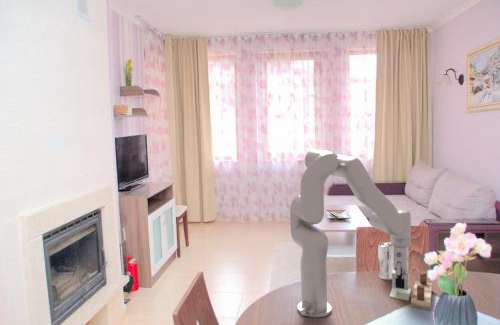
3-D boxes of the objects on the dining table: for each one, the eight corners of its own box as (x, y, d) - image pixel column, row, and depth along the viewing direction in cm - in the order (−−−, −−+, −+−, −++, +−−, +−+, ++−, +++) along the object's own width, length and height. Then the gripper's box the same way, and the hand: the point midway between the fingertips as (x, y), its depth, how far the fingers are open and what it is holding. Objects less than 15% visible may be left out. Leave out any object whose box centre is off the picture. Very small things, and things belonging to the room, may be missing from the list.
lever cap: (408, 290, 152) (408, 273, 151) (392, 287, 155) (392, 271, 154) (409, 285, 156) (409, 269, 155) (393, 283, 159) (393, 267, 158)
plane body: (429, 310, 142) (430, 289, 141) (411, 306, 145) (411, 286, 144) (432, 290, 158) (432, 271, 157) (414, 287, 161) (415, 269, 160)
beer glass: (378, 279, 170) (378, 246, 169) (377, 273, 177) (377, 241, 175) (395, 281, 168) (395, 247, 167) (394, 274, 175) (394, 242, 173)
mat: (408, 300, 150) (408, 299, 150) (389, 297, 153) (389, 296, 153) (410, 290, 159) (410, 288, 158) (392, 287, 162) (392, 286, 162)
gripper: (408, 248, 144) (408, 295, 146) (412, 236, 159) (412, 278, 161) (387, 246, 148) (387, 292, 150) (393, 234, 163) (393, 276, 165)
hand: (400, 284), depth 155 cm, fingers closed on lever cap, 4 cm apart
